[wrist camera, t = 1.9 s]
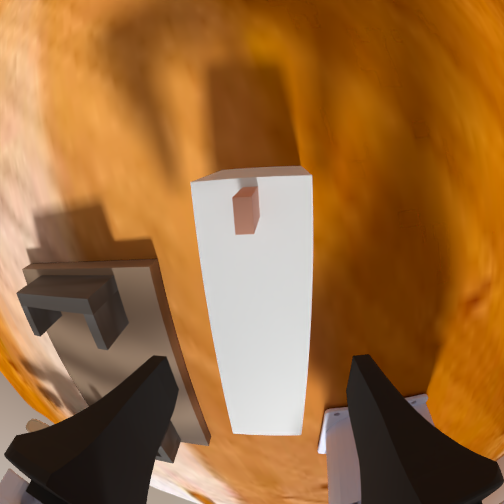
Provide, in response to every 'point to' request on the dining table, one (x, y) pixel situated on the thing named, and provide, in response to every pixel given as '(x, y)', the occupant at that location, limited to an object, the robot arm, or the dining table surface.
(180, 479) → the dining table surface
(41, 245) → the dining table surface
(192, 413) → the cradle jig
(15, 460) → the robot arm
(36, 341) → the dining table surface
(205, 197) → the white rectangular block
